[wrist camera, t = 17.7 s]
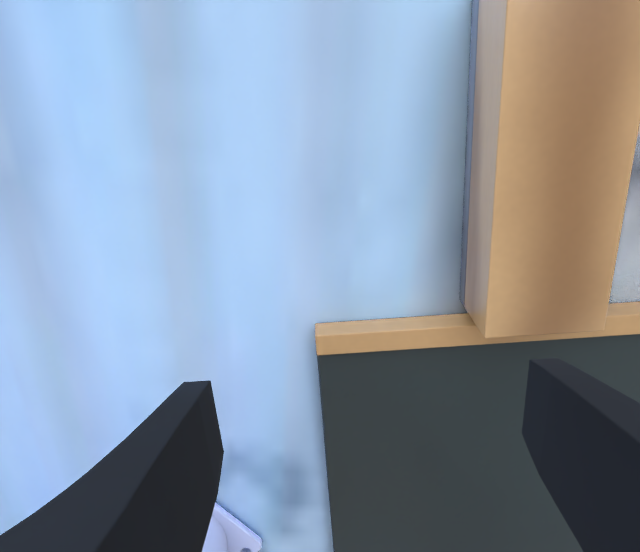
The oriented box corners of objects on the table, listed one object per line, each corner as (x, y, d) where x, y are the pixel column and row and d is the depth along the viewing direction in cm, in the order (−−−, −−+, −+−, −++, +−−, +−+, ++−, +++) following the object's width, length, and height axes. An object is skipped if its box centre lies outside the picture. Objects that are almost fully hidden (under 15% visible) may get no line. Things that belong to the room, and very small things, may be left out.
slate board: (343, 663, 31) (344, 685, 30) (314, 323, 22) (314, 335, 21) (656, 646, 31) (669, 667, 30) (763, 292, 21) (787, 304, 20)
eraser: (458, 300, 21) (484, 339, 18) (472, -10, 17) (509, -31, 14) (560, 293, 21) (604, 331, 18) (601, -20, 17) (669, -43, 14)
